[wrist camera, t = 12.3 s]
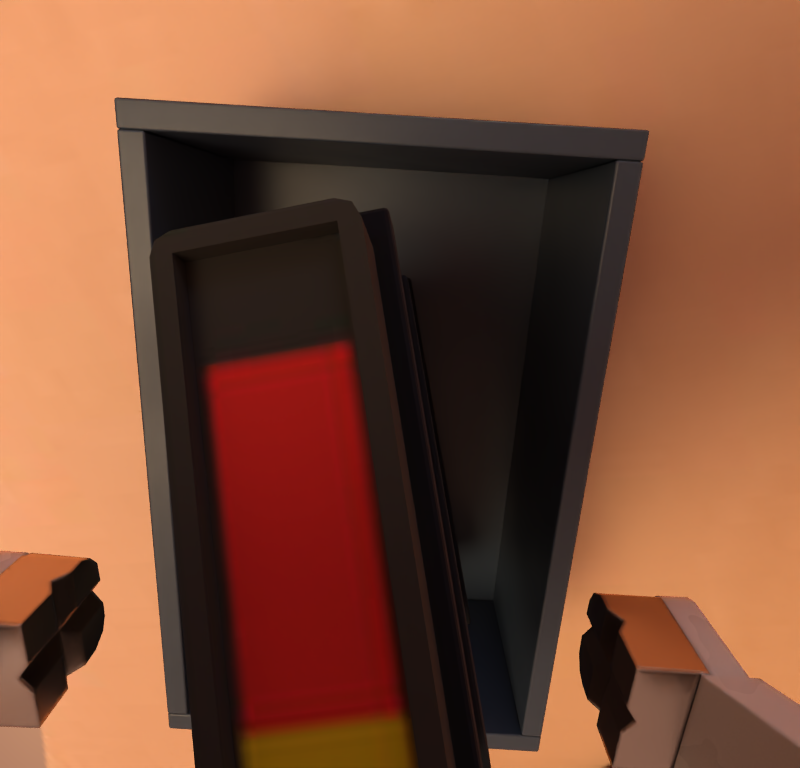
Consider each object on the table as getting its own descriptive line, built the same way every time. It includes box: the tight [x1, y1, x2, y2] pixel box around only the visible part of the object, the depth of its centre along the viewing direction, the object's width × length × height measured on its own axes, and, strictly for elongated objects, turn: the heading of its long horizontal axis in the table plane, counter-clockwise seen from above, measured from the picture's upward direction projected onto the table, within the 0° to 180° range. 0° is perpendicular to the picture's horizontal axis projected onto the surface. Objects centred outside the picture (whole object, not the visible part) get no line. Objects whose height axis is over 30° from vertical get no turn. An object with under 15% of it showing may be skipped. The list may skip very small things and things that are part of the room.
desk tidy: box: [115, 98, 649, 752], centre depth 17 cm, size 17×11×6 cm, turn 177°
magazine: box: [149, 198, 491, 768], centre depth 14 cm, size 4×13×15 cm, turn 11°
